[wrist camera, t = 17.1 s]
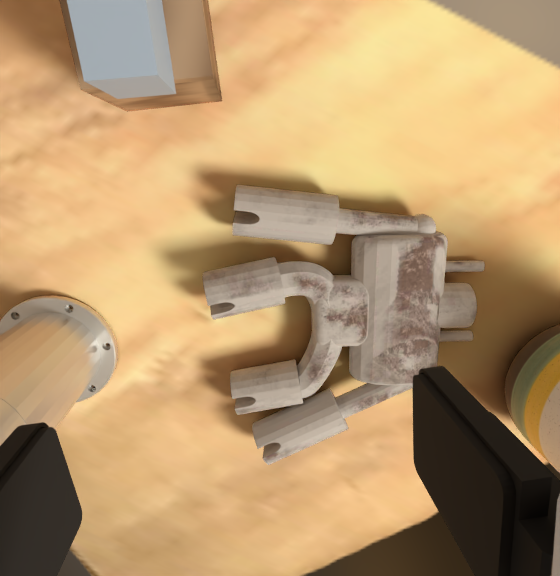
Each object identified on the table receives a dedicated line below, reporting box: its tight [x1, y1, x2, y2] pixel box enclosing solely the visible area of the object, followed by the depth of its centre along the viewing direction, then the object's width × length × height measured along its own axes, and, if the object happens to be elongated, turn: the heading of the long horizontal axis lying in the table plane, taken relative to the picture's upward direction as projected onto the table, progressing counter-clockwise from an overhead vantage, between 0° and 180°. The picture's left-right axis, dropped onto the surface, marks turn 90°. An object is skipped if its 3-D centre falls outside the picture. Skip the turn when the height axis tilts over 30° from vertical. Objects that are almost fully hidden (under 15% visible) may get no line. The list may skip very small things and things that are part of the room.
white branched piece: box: [203, 185, 485, 465], centre depth 43 cm, size 31×7×30 cm
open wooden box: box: [60, 0, 222, 111], centre depth 31 cm, size 9×12×11 cm
